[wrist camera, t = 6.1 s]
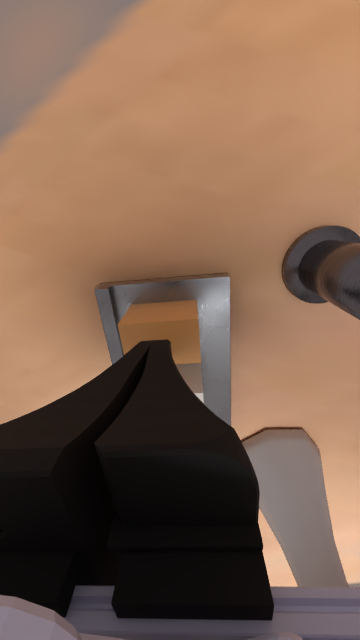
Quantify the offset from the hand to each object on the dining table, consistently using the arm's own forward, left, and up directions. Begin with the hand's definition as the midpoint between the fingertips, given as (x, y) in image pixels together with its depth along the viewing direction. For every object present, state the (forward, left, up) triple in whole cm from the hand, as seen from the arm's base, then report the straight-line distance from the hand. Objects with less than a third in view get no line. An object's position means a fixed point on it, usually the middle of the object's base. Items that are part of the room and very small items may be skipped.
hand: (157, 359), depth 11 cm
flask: (-8, +14, -6) cm, 17 cm away
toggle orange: (0, 0, -4) cm, 4 cm away
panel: (0, +5, -5) cm, 7 cm away
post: (-10, -2, -5) cm, 11 cm away
